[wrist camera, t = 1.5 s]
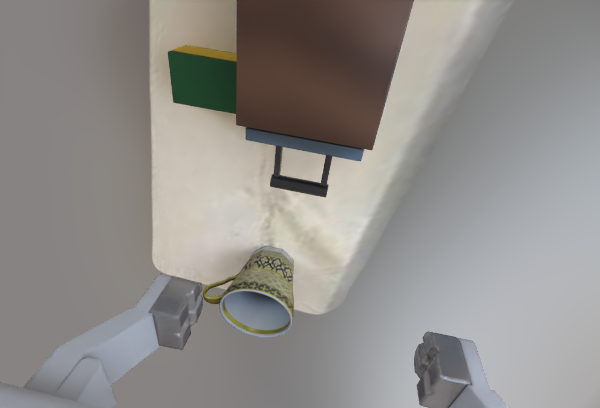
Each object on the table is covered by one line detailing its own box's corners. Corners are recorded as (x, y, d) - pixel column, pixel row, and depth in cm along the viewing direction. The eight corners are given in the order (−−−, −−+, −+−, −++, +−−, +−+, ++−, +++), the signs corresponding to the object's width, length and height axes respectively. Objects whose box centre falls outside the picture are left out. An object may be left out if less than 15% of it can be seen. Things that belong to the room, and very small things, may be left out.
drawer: (350, 175, 39) (347, 210, 33) (262, 158, 40) (244, 190, 34) (398, -18, 28) (407, -16, 22) (273, -36, 28) (249, -39, 22)
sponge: (185, 44, 34) (167, 51, 31) (253, 56, 34) (241, 64, 31) (189, 92, 37) (173, 102, 34) (251, 103, 37) (241, 115, 34)
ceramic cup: (308, 244, 48) (296, 299, 40) (301, 288, 53) (289, 344, 45) (222, 227, 49) (194, 278, 40) (225, 273, 54) (200, 325, 46)
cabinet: (371, 114, 35) (372, 150, 28) (262, 94, 36) (236, 125, 29) (415, -58, 27) (433, -70, 19) (271, -78, 27) (236, -97, 20)
